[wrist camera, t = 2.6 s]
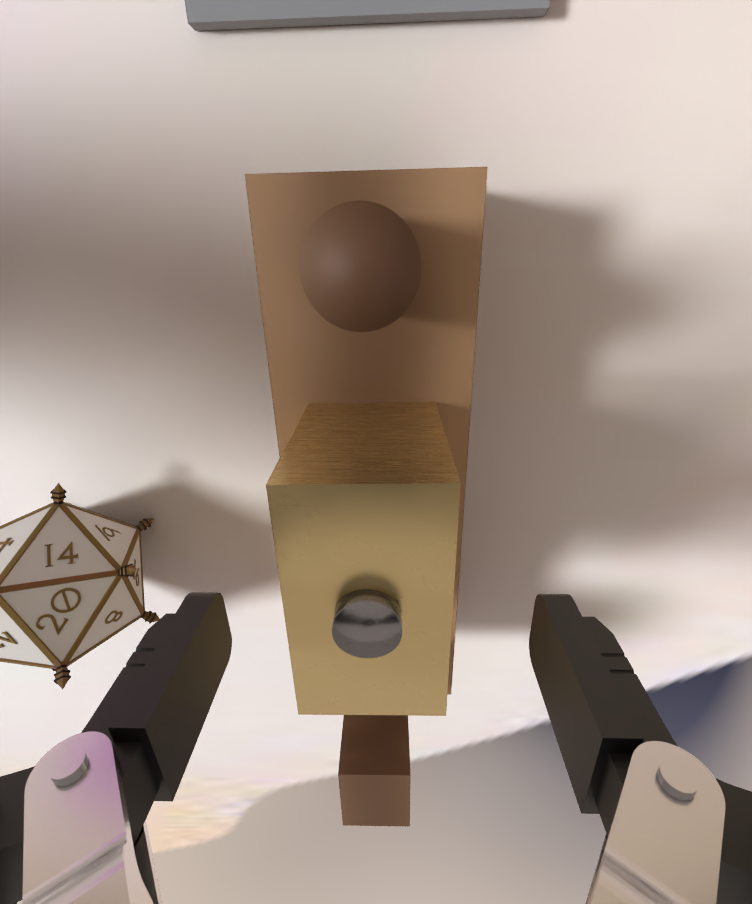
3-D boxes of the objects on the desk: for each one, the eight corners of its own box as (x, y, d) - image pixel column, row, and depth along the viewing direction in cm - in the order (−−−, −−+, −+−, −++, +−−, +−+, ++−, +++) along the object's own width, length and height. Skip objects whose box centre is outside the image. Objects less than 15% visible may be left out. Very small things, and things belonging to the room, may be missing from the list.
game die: (125, 471, 27) (6, 428, 17) (220, 573, 26) (151, 587, 17) (-4, 580, 25) (-219, 600, 15) (94, 693, 24) (-67, 789, 15)
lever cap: (324, 581, 19) (294, 733, 13) (308, 403, 16) (259, 498, 10) (429, 581, 19) (448, 735, 13) (435, 401, 16) (464, 496, 10)
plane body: (319, 620, 27) (278, 842, 17) (276, 188, 17) (126, 105, 7) (443, 619, 26) (476, 845, 16) (466, 182, 17) (576, 89, 7)
